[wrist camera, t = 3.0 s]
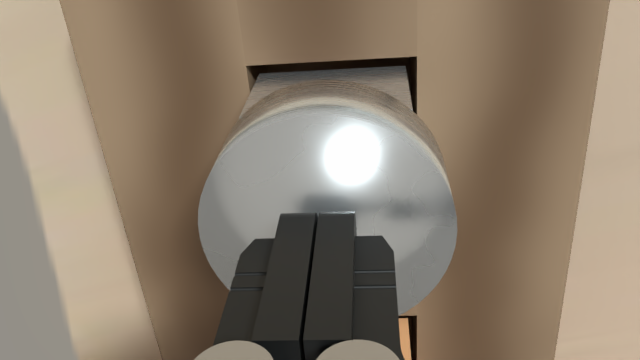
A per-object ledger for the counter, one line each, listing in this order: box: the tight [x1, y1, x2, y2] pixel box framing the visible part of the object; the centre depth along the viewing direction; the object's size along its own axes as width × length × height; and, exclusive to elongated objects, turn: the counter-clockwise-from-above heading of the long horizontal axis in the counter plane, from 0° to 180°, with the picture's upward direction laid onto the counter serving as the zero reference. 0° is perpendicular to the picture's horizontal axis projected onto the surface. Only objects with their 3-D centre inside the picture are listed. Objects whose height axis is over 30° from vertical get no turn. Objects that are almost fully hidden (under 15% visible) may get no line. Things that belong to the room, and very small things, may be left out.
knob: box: [198, 66, 457, 316], centre depth 15 cm, size 6×6×5 cm
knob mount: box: [59, 0, 610, 360], centre depth 23 cm, size 14×28×4 cm, turn 5°
